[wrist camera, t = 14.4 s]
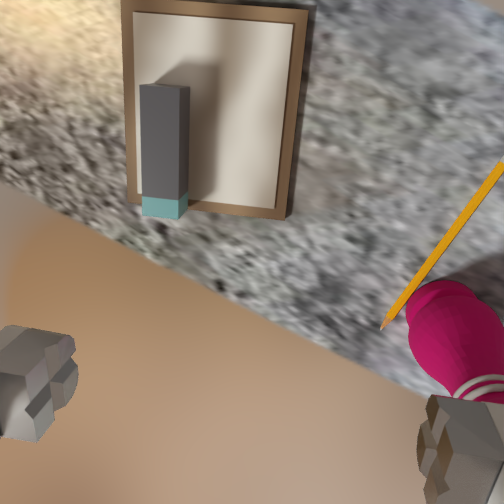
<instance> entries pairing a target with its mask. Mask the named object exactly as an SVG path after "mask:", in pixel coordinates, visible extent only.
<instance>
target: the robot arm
mask: <svg viewBox="0 0 504 504" xmlns="http://www.w3.org/2000/svg"><path fill="white" fill-rule="evenodd" d="M75 351H76V348H75V342H74V338H72V337H71V336H70V335H66V334H61V333H55V332H50V331H45V330H39V329H34V328H27V327H22V326H16V325H10V326H6V327H4V328H3V329H2V330H1V331H0V438H1V437H7V438H12V439H19V440H24V441H30V442H36V443H37V442H38V441H39V439H40V438H41V437H42V436H43V434H44V433H45V432H46V430H47V429H48V428H49V427H50V425H51V424H52V423H53V421H54V420H55V418H54V411H56V410H58V409H60V408H62V407H64V406H66V405H67V403H68V402H69V400H70V399H71V398H72V396H73V394H74V391H75V389H76V386H77V382H78V366H77V364H76V363H75V362H74V361H73V359H72V358H71V356H72V355H73V353H74V352H75ZM425 409H426V412H427V417H428V420H427V421H425V422H424V423H422V424H421V425H420V429H419V433H418V438H417V461H418V466H419V471H420V472H421V473H422V474H423V475H424V476H425V477H426V478H427V480H426V483H425V486H424V489H423V490H424V495H425V499H426V504H504V404H497V403H490V402H483V401H481V402H478V401H472V400H465V399H459V398H453V397H446V396H440V395H434V394H432V395H431V396H430V398H429V399H428V402H427V405H426V408H425Z"/></svg>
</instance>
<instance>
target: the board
mask: <svg viewBox="0 0 504 504" xmlns="http://www.w3.org/2000/svg"><path fill="white" fill-rule="evenodd" d="M308 12H309V10H300V9H287V8H273V7H260V6H246V5H233V4H219V3H206V2H192V1H179V0H121V25H122V54H123V82H124V110H125V138H126V166H127V194H128V202H129V203H138V204H142V178H141V136H140V93H139V85H142V84H151V83H156V84H167V85H178V86H190V126H189V177H188V209H189V210H198V211H206V212H215V213H223V214H232V215H240V216H249V217H258V218H266V219H275V220H283V221H285V215H286V206H287V197H288V188H289V180H290V171H291V162H292V153H293V144H294V136H295V127H296V118H297V109H298V100H299V92H300V83H301V74H302V65H303V56H304V48H305V39H306V30H307V21H308Z"/></svg>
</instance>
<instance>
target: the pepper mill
mask: <svg viewBox="0 0 504 504" xmlns="http://www.w3.org/2000/svg"><path fill="white" fill-rule="evenodd" d="M406 319H407V323H408V325H409V335H408V339H409V345H410V348H411V351H412V353H413V355H414V357H415V359H416V361H417V362H418V363H419V365H420V366H421V367H422V368H423V369H424V371H425V372H426V373H427V374H428V375H430V376H431V377H432V378H434V379H435V380H436V381H438V382H439V383H441V384H442V385H443V386H444V387H445V388H446V389H447V390H448V391H449V393H450V395H451V396H452V397H453V398H459V399H465V400H472V401H478V402H481V401H483V402H490V403H497V404H504V327H503V325H502V323H501V321H500V319H499V317H498V316H497V314H496V313H495V312H494V311H493V310H492V309H491V308H490V307H489V306H488V305H486V304H485V303H484V302H482V301H480V300H478V299H477V297H476V296H475V294H474V293H473V292H472V291H471V290H470V289H469V288H468V287H466V286H465V285H463V284H461V283H458V282H455V281H448V280H443V281H435V282H431V283H429V284H426V285H424V286H423V287H421V288H420V289H418V290H417V291H416V292H415V293H414V294H413V295H412V296H411V298H410V299H409V301H408V304H407V307H406Z"/></svg>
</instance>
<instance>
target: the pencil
mask: <svg viewBox="0 0 504 504" xmlns="http://www.w3.org/2000/svg"><path fill="white" fill-rule="evenodd" d="M503 172H504V156H503V157H502V158H501V160H500V161H499V162H498V164H497V165H496V167H495V168H494V169H493V171H492V172H491V173H490V175H489V176H488V177H487V179H486V180H485V181H484V183H483V184H482V186H481V187H480V188H479V190H478V191H477V192H476V194H475V195H474V196H473V198H472V199H471V200H470V202H469V203H468V205H467V206H466V207H465V209H464V210H463V211H462V213H461V214H460V215H459V217H458V218H457V219H456V221H455V222H454V224H453V225H452V226H451V228H450V229H449V230H448V232H447V233H446V234H445V236H444V237H443V239H442V240H441V241H440V243H439V244H438V245H437V247H436V248H435V249H434V251H433V252H432V253H431V255H430V256H429V258H428V259H427V260H426V262H425V263H424V264H423V266H422V267H421V268H420V270H419V271H418V272H417V274H416V275H415V277H414V278H413V279H412V281H411V282H410V283H409V285H408V286H407V287H406V289H405V290H404V291H403V293H402V294H401V296H400V297H399V298H398V300H397V301H396V302H395V304H394V305H393V306H392V308H391V309H390V310H389V312H388V313H387V315H386V317H385V319H384V321H383V323H382V326H381V328H380V330H381V329H383V328H384V327H385V326H386V325H387V324H388V323H390V322H391V321H392V320H393V319H394V318H395V316H396V315H397V314H398V312H399V311H400V310H401V308H402V307H403V306H404V304H405V303H406V302H407V300H408V299H409V298H410V296H411V295H412V294H413V292H414V291H415V290H416V288H417V287H418V286H419V284H420V283H421V282H422V280H423V279H424V278H425V276H426V275H427V274H428V272H429V271H430V270H431V268H432V267H433V266H434V264H435V263H436V262H437V260H438V259H439V258H440V256H441V255H442V254H443V252H444V251H445V250H446V248H447V247H448V246H449V244H450V243H451V242H452V240H453V239H454V238H455V236H456V235H457V234H458V232H459V231H460V230H461V228H462V227H463V226H464V224H465V223H466V222H467V220H468V219H469V218H470V216H471V215H472V214H473V212H474V211H475V210H476V208H477V207H478V206H479V204H480V203H481V202H482V200H483V199H484V198H485V196H486V195H487V194H488V192H489V191H490V190H491V188H492V187H493V186H494V184H495V183H496V182H497V180H498V179H499V178H500V176H501V175H502V174H503Z"/></svg>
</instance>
